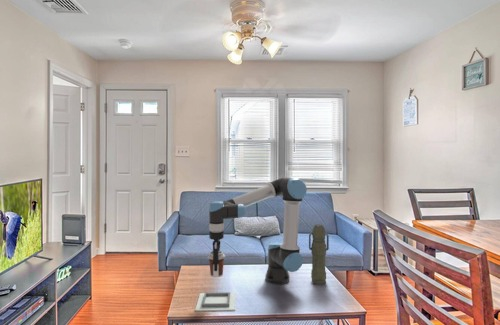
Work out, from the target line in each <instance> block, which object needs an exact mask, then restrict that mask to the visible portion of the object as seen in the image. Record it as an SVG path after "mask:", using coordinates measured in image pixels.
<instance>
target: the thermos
mask: <svg viewBox="0 0 500 325" xmlns="http://www.w3.org/2000/svg"><path fill="white" fill-rule="evenodd" d="M311 237H312V240H311ZM329 237H330V236H329V234H328V233H327V232H326V229H325V226H324V225H323V224H315V225H313V227H312V232H309V234H308V249H309V251H311V260H312V261H311V262H312V264H311V268H312V269H311V273H310V274H311V275H310V276H311V283H312V284H313V285H318V286H323V285H326V284H327V271H326V255H327V251H328V250H330V248H329V242H330V240H329ZM311 241H312V242H311Z"/></svg>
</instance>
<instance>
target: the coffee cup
mask: <svg viewBox="0 0 500 325" xmlns="http://www.w3.org/2000/svg"><path fill="white" fill-rule="evenodd" d="M225 258H226V254H224V252H223V251H221V250H220V251H219V253H218V264H219V277H218V278H220V277H222V276H223V275H224V263H225ZM207 259H209V260H208V261H209V272H210V277H212V278H214V277H213V265H212V263H213V250H212V251H210V253H209V254H208V256H207Z"/></svg>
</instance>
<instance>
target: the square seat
mask: <svg viewBox="0 0 500 325" xmlns="http://www.w3.org/2000/svg"><path fill="white" fill-rule="evenodd" d="M236 295H237V292H228V291H227V292H226V291H225V292H222V291H221V292H201V293H199V296H198V299H197V303H196V305H195V308H194V312H236V299H237V298H236V297H237V296H236Z"/></svg>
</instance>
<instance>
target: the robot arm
mask: <svg viewBox="0 0 500 325" xmlns="http://www.w3.org/2000/svg"><path fill="white" fill-rule="evenodd" d="M306 194H307V185H306V183H305V181H303V180H302V179H300V178H297V177H296V178H295V177H289V176H287V177H286V176H283V177H280V178H278V179H275V180H273V181H270V182H268V183H266V185H264V186H262V187H259V188H256V189H253V190H252V191H249V192H245V193H244V194H241V195H238V196H235V197H234V198H233V197H232V198H230V199H227V200H219V201H218V200H217V201H211V202H210V203H209V206H208V207H209V208H208V209H209V210H208V212H209V214H208V216H209V217H208V218H209V219H208V220H209V221H208V222H209V224H208V225H207V227H208V228H209V232H208V233H209V239H210V240H213V241H212V251H213V263H212V265H213V277H212V278H220V277H219V264H218V253H219V251H221V240H223V239H224V236H225V235H224V234H225V232H224V228H225V227H224V225H225V224H224V223H225V222H224V220H228V219H239V218H240V219H241V218H244V217H245V214H246V208H247V207H249V206H252V205H253V204H254V205H255V204H257V203H259V202H261V201H264V200H266V199H269V198H276V197H282V201H283V202H284V211H283V213H284V215H283V229H282V230H283V232H282V233H283V235H282V241H281V242H271V243H269V244H268V245H267V246H268V248H267V254H268V255H267V256H268V257H267V270H266V274H265V276H264V277H265V281H266V282H267V283H270V284H273V285H284V284H288V283H289V282H290V274H289V273H290V272H291V273H295V272H297V271H299V270H300V269H301V267H302V265H303V263H304V259H303V256H302V254H301V253H300V252H301V251H300V250H301V249H300V248H301V247H300V246H299V245H298V241H299V240H298V238H299V221H300V220H299V218H300V204H301V203H303V198H304V197H305V196H306Z"/></svg>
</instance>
